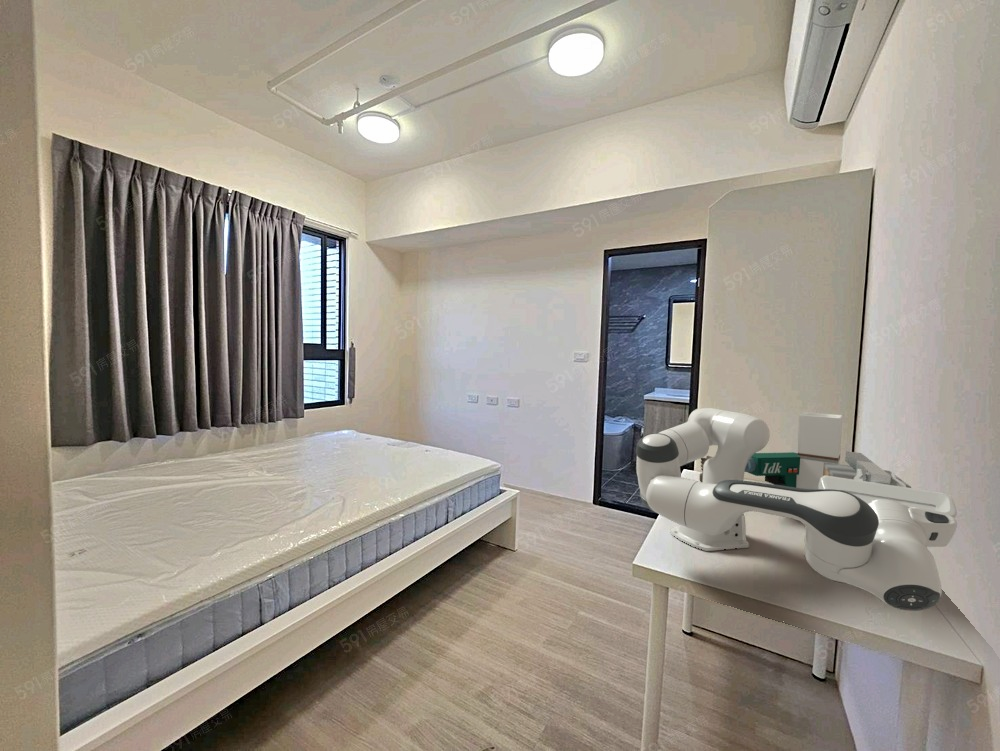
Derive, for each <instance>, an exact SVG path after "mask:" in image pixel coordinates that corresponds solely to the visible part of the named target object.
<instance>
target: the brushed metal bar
mask: <svg viewBox="0 0 1000 751" xmlns="http://www.w3.org/2000/svg"><path fill="white" fill-rule="evenodd" d="M844 456H845V457H844V461H845V462H846V463H847V464H848V466H851V467H852V468H853V469H854V470H855V471H856V472H857V469H865V470H867V473H868V476H867V480H866V481H867V482H874V483H881V484H887V485H890V479H891V476H890V475H889V474H888V473H886V472H885V471H884V470H885V469H882V468H881V467H880V466H878V465H877V464H876V463H875V462H873V461H872V460H871V459H869V457H868V456H866V455H865V454H863V453H862V452H856V451H855V452H854V451H845V455H844Z"/></svg>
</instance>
